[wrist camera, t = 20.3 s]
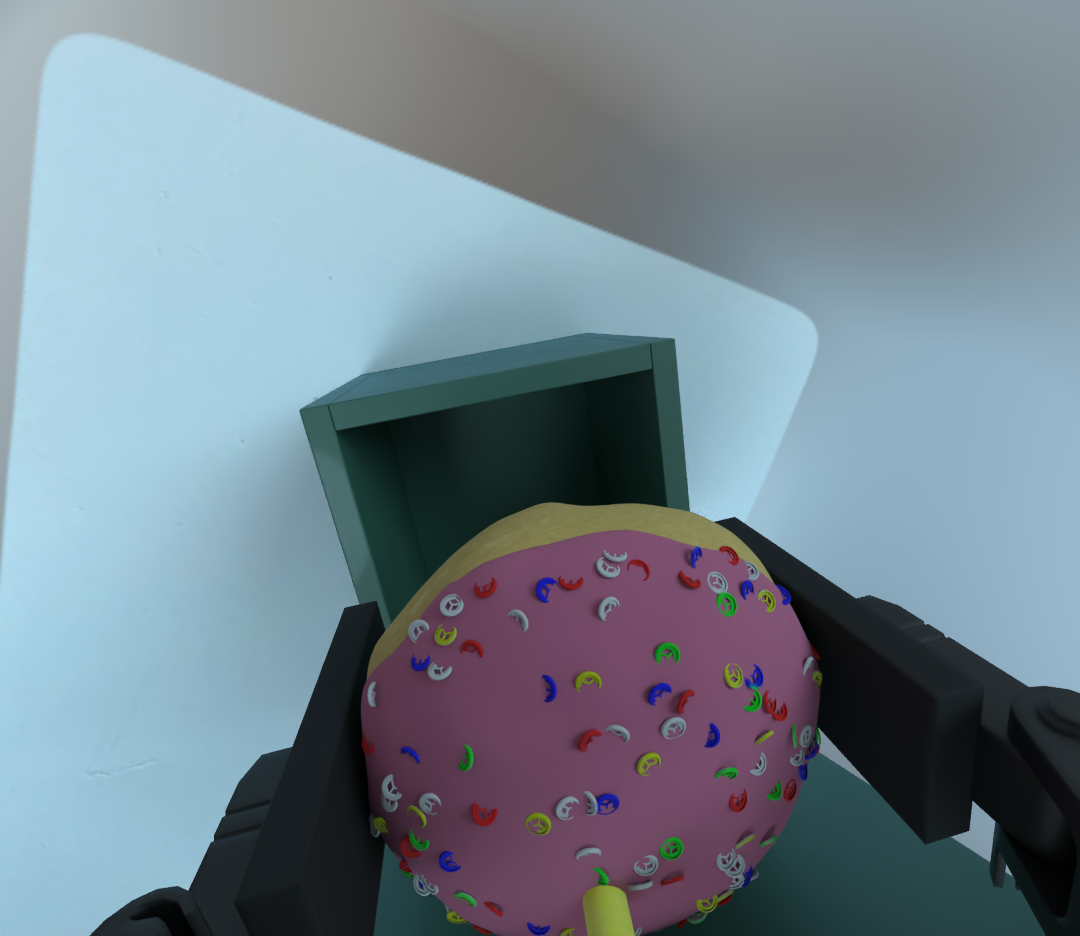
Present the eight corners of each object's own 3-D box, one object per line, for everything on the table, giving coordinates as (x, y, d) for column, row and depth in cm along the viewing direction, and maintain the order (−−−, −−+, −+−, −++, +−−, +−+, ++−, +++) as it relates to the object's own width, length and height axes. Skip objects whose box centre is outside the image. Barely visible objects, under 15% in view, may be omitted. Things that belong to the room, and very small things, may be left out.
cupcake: (623, 755, 16) (1076, 1881, 4) (345, 697, 14) (-198, 2588, 2) (748, 504, 14) (1992, 1254, 3) (453, 395, 12) (490, 1673, 1)
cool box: (360, 374, 30) (297, 409, 18) (588, 332, 32) (675, 338, 19) (423, 607, 35) (408, 762, 23) (619, 561, 37) (705, 682, 24)
